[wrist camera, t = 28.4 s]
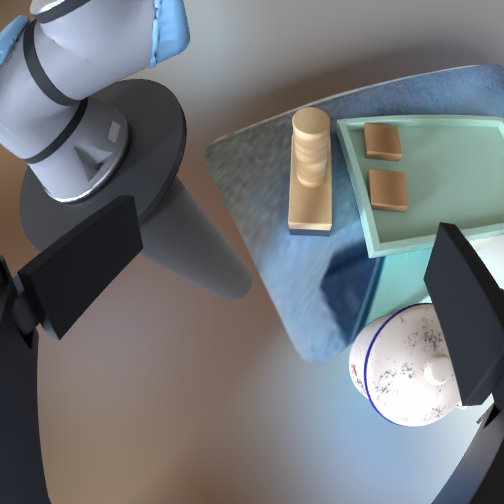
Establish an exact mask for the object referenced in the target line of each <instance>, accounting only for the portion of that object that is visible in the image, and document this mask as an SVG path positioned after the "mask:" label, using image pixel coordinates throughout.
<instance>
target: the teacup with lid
mask: <svg viewBox="0 0 504 504" xmlns="http://www.w3.org/2000/svg"><path fill="white" fill-rule="evenodd" d="M349 369H350V374H351V378H352V380H353V382H354V384H355V386H356V388H357V389H358V390H359V391H360V392H361V393H362V394H363V395H364V396H365V397H366V398H367V399H368V400H369V401H370V402H371V404H372V406H373V407H374V409H375V410H376V411H377V412H378V413H379V414H380V415H381V416H382V417H384V418H385V419H386V420H388V421H390V422H392V423H394V424H397V425H400V426H406V427H414V426H422V425H426V424H430V423H432V422H435V421H437V420H439V419H440V418H442V417H444V416H445V415H447V414H448V413H449V412H450V411H452V410H453V409H454V408H455V407H458V408H461V409H466V408H468V407H469V406H462V402H461V398H460V394H459V389H458V385H457V381H456V377H455V373H454V370H453V366H452V362H451V359H450V355H449V352H448V348H447V345H446V342H445V339H444V335H443V332H442V329H441V326H440V323H439V320H438V317H437V314H436V311H435V309H434V306H433V303H419V304H414V305H411V306H408V307H405V308H403V309H401V310H399V311H398V312H396V313H394V314H390V315H387V316H383V317H380V318H378V319H376V320H374V321H372V322H371V323H369V324H368V325H367V326H366V327H365V328H364V329H363V330H362V331H361V332H360V333H359V335H358V336H357V338H356V339H355V341H354V343H353V346H352V349H351V352H350V358H349Z"/></svg>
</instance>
